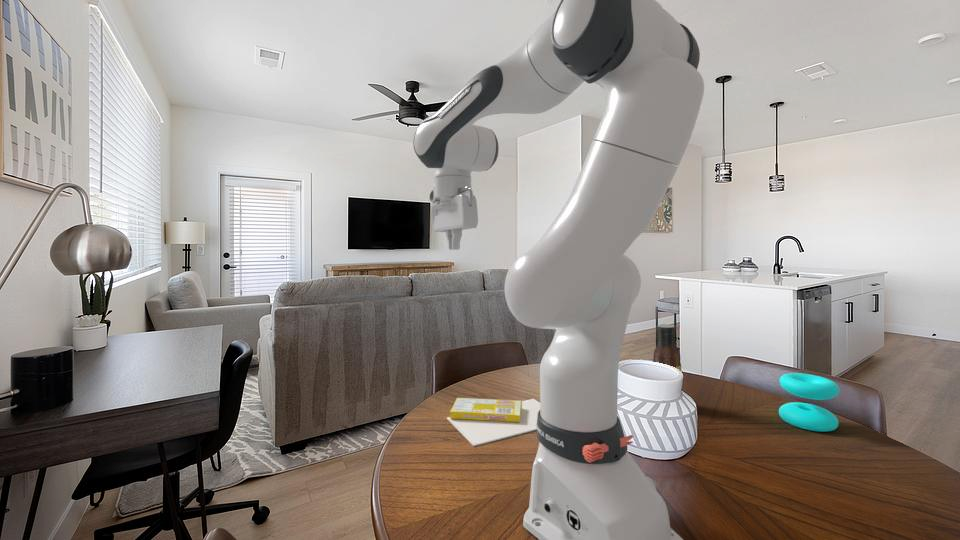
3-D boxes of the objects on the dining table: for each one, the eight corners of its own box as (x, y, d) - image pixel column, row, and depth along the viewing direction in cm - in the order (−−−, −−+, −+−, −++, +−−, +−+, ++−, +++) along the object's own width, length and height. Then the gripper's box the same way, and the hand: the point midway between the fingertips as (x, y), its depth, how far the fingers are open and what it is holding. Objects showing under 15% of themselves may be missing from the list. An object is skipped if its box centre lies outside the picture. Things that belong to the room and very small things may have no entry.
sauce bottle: (676, 400, 99) (676, 323, 98) (686, 410, 93) (687, 328, 92) (649, 400, 100) (649, 323, 99) (657, 410, 93) (658, 327, 92)
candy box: (456, 405, 97) (449, 419, 89) (456, 397, 97) (449, 410, 89) (522, 408, 95) (520, 423, 87) (522, 400, 95) (520, 413, 86)
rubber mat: (569, 421, 88) (569, 420, 88) (473, 446, 77) (473, 445, 77) (533, 399, 101) (533, 398, 101) (446, 418, 90) (446, 417, 90)
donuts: (823, 373, 88) (851, 388, 78) (822, 416, 89) (849, 436, 79) (771, 369, 91) (792, 384, 81) (770, 411, 91) (790, 430, 82)
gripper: (484, 185, 85) (485, 249, 85) (449, 197, 103) (450, 249, 104) (457, 183, 82) (459, 249, 83) (426, 196, 100) (427, 250, 101)
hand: (454, 249), depth 93 cm, fingers closed
